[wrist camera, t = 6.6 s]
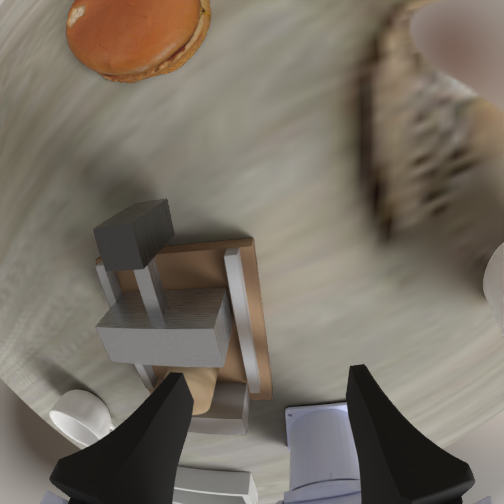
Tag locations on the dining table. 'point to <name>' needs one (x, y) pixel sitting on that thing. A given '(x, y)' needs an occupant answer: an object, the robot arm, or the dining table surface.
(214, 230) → the dining table surface
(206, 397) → the nut
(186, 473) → the box
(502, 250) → the white plant pot
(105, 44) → the burger
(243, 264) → the bench
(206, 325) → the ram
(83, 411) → the teacup
